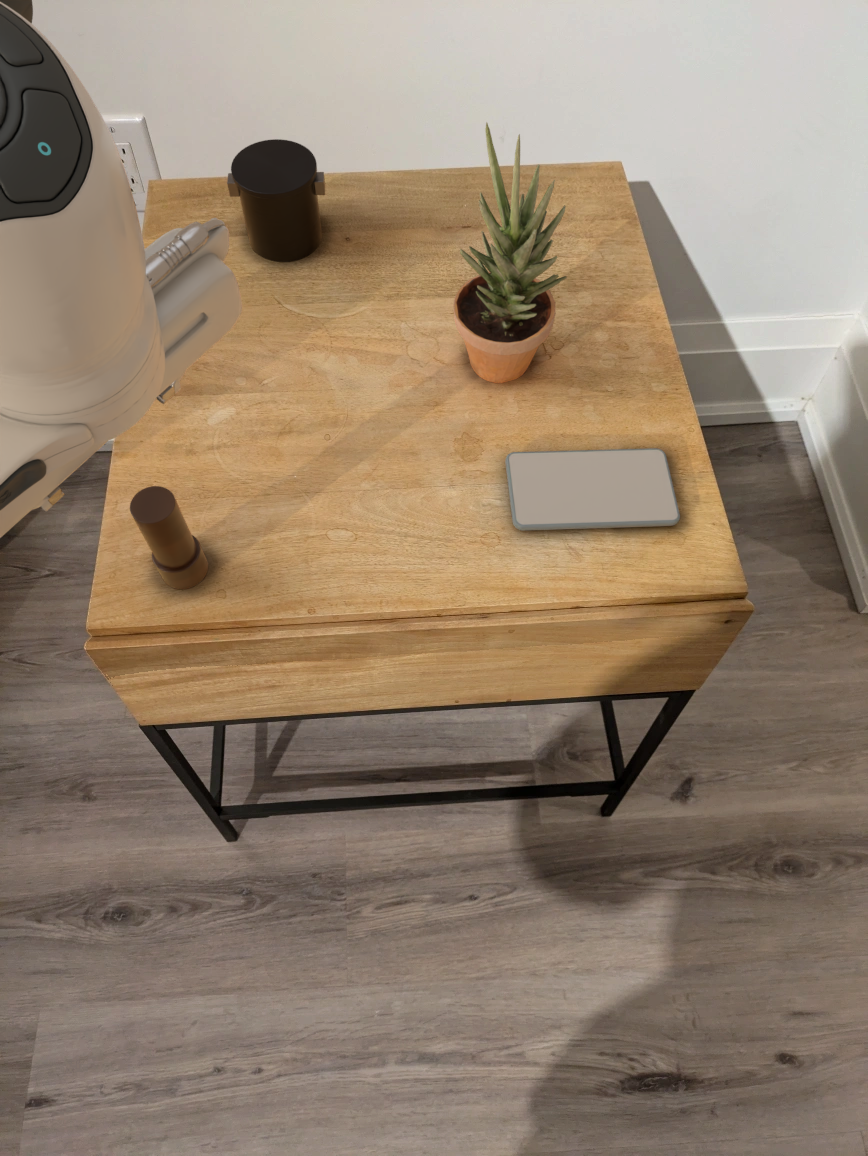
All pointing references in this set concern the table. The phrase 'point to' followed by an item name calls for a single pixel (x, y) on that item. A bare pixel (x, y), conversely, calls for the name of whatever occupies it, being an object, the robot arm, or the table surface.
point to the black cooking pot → (279, 198)
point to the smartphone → (591, 489)
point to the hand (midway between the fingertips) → (105, 440)
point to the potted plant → (508, 281)
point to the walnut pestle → (169, 538)
